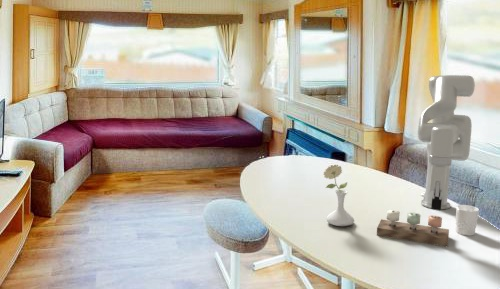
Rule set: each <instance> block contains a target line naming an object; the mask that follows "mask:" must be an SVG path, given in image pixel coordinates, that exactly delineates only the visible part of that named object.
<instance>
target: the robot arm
mask: <svg viewBox="0 0 500 289" xmlns="http://www.w3.org/2000/svg"><path fill="white" fill-rule="evenodd" d="M475 86H476V85H475V78H474V77H473V76H471V75H466V74H465V75H460V74H459V75H458V74H457V75H456V74H455V75H453V74H449V75H448V74H447V75H445V74H444V75H434V76H432V77H430V78H429V81H428V89H429V93H430V96H431V99H432V104H430V105H429V106H427V107H426V108H425V109H424V110H423V111H422V113H420V117H419V120H418V128H417V137H418V140H419V142H422V143H427V145H426V154H427V168H426V169H427V171H426V182H425V191H423V192H421V193H420V196H421V197H422V199H421V201H420V204H421V205H422V206H423V207H425V208H428V209H431V210H436V211H440V210H448V209H450V208H451V203H450V202H449V201H448V194H449V186H450V185H449V184H450V174H451V173H450V172H451V170H450V169H451V168H450V167H451V166H452V161H459V162H460V161H461V162H462V161H463V162H464V161H466V160H467V159H469V155H470V152H471V151H470V150H471V149H470V148H471V140H472V119H471V117H470V116H468V115H466V114H465V115H463V114H455V110H456V108H457V102H458V101H457V100H458V97H467V98H469V97H471V96H473V94H474V92H475ZM430 121H432V122H430Z"/></svg>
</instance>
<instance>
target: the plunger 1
mask: <svg viewBox="0 0 500 289" xmlns="http://www.w3.org/2000/svg"><path fill="white" fill-rule="evenodd" d="M400 215H401V214H400V211H399V210H397V209H388V210H387V211H386V220H389V221H391V226H392V227H394V223H395V221H396V222H400Z"/></svg>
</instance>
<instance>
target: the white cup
mask: <svg viewBox="0 0 500 289" xmlns="http://www.w3.org/2000/svg"><path fill="white" fill-rule="evenodd" d="M455 207H456V208H455V210H456V211H455V232H456V233H457V234H459V235H463V236H468V237H470V236H474V235H475V234H476V228H477V224H478V220H479V219H478V218H479V212H480V209H479V208H478V207H476V206H473V205H470V204H469V205H467V204H458V205H456V206H455Z"/></svg>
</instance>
